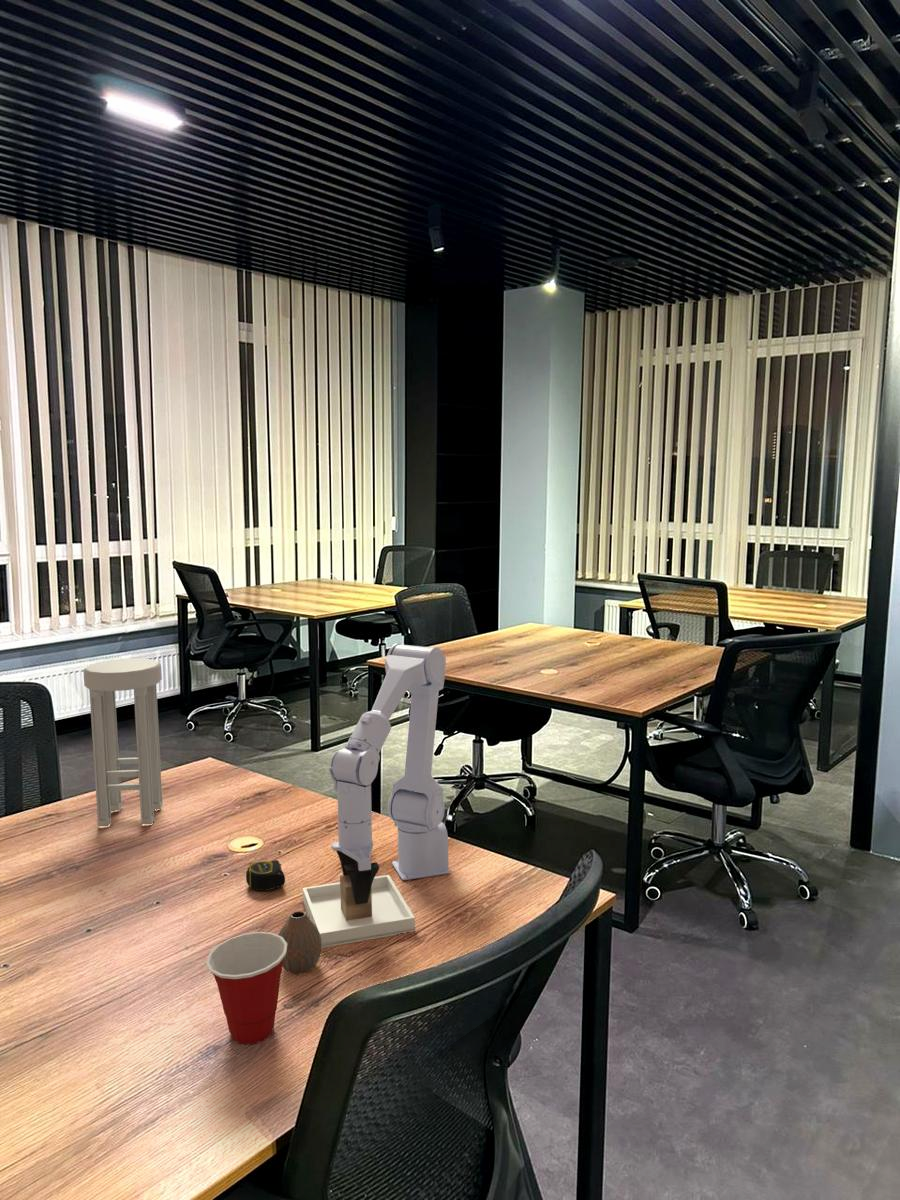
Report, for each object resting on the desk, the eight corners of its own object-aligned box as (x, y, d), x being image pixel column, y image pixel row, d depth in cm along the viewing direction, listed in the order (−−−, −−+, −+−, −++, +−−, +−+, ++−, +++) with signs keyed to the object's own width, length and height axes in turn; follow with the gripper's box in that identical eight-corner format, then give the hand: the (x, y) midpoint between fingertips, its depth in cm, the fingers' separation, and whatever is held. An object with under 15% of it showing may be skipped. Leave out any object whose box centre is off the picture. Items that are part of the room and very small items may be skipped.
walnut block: (366, 904, 156) (365, 872, 155) (372, 916, 152) (371, 883, 151) (340, 908, 154) (340, 876, 154) (346, 920, 150) (345, 887, 149)
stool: (105, 806, 205) (96, 658, 200) (173, 803, 207) (166, 656, 202) (85, 832, 190) (75, 673, 185) (159, 829, 192) (150, 671, 187)
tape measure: (286, 891, 163) (285, 872, 162) (248, 896, 161) (247, 877, 160) (281, 875, 169) (281, 857, 169) (244, 880, 167) (244, 861, 167)
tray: (389, 887, 164) (388, 874, 163) (415, 931, 148) (414, 917, 147) (302, 901, 159) (302, 887, 158) (320, 948, 143) (319, 933, 142)
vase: (329, 959, 139) (328, 907, 138) (309, 983, 133) (307, 928, 132) (290, 952, 142) (289, 900, 140) (268, 975, 135) (266, 921, 134)
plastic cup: (207, 1016, 125) (203, 937, 123) (284, 1002, 128) (282, 924, 126) (211, 1065, 114) (207, 978, 113) (295, 1048, 118) (292, 964, 116)
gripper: (323, 805, 156) (325, 878, 158) (340, 837, 143) (342, 916, 145) (362, 801, 159) (364, 872, 160) (382, 831, 145) (384, 909, 147)
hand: (356, 892), depth 153 cm, fingers open, 7 cm apart
